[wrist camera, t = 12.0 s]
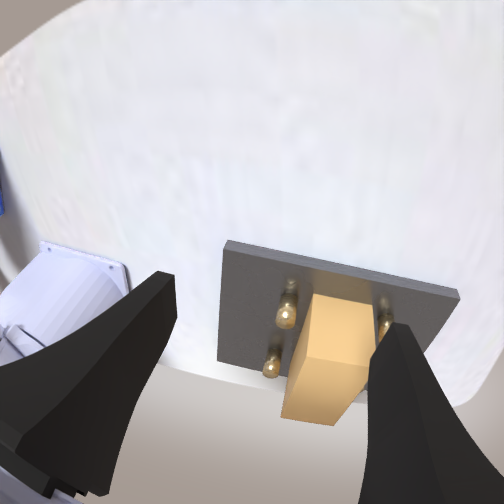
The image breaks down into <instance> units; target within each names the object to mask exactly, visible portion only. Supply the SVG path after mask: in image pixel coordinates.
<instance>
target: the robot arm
mask: <svg viewBox="0 0 504 504" xmlns="http://www.w3.org/2000/svg"><path fill="white" fill-rule="evenodd" d="M39 248H40V251H41V252H40V253H39V254H38V255H37V256H36V257H35V258H34V259H33V260H32V261H31V262H30V263H29V264H28V265H27V266H26V267H25V268H24V269H23V270H22V271H21V272H20V273H19V274H18V275H17V276H16V277H15V279H14V280H13V281H12V282H11V283H10V284H9V285H8V286H7V287H6V288H5V289H4V291H3V292H2V294H1V295H0V504H84V503H82V502H80V501H78V500H76V499H74V497H75V495H76V492H77V493H79V494H81V495H83V496H86V495H87V493H88V491H89V492H91V493H93V494H95V495H97V496H99V497H100V496H104V495H107V494H109V490H110V485H111V481H112V477H113V473H114V469H115V465H116V462H117V458H118V455H119V451H120V448H121V445H122V442H123V439H124V436H125V433H126V430H127V427H128V424H129V421H130V419H131V416H132V413H133V411H134V408H135V405H136V403H137V401H138V398H139V396H140V394H141V392H142V390H143V388H144V386H145V385H146V383H147V381H148V379H149V377H150V375H151V373H152V371H153V369H154V368H155V366H156V364H157V362H158V360H159V358H160V356H161V354H162V352H163V351H164V349H165V347H166V345H167V343H168V340H169V338H170V335H171V333H172V330H173V328H174V325H175V322H176V319H177V306H176V292H175V276H174V275H172V274H168V273H164V272H161V271H157V272H155V273H154V274H152V275H151V276H150V277H149V278H147V279H146V280H145V281H143V282H142V283H141V284H140V285H138V286H137V287H136V288H134V289H133V290H132V291H131V292H129V289H128V284H127V279H126V273H125V268H124V266H123V265H122V264H121V263H119V262H115V261H112V260H108V259H104V258H101V257H97V256H93V255H90V254H86V253H83V252H79V251H76V250H72V249H69V248H65V247H62V246H58V245H55V244H51V243H48V242H45V241H41V242H40V243H39ZM367 390H368V449H367V459H366V466H365V472H364V479H363V483H362V488H361V493H360V498H359V502H358V504H504V477H503V476H502V475H501V474H500V473H499V472H498V470H497V469H496V468H495V467H494V466H493V465H492V464H491V463H490V461H489V460H488V459H487V458H486V456H485V455H484V454H483V453H482V451H481V450H480V449H479V447H478V446H477V445H476V443H475V442H474V441H473V439H472V438H471V436H470V435H469V433H468V432H467V431H466V429H465V428H464V426H463V424H462V423H461V421H460V420H459V418H458V417H457V415H456V413H455V412H454V410H453V408H452V407H451V405H450V403H449V401H448V399H447V398H446V396H445V394H444V392H443V391H442V389H441V387H440V385H439V383H438V381H437V379H436V377H435V375H434V374H433V372H432V370H431V368H430V366H429V364H428V362H427V360H426V358H425V356H424V354H423V352H422V350H421V348H420V346H419V344H418V342H417V340H416V338H415V336H414V334H413V332H412V330H411V329H410V327H409V325H407V324H401V323H395V322H392V323H391V325H390V327H389V328H388V330H387V332H386V333H385V335H384V337H383V338H382V340H381V342H380V343H379V345H378V347H377V348H376V350H375V352H374V353H373V355H372V356H371V358H370V363H369V373H368V386H367Z"/></svg>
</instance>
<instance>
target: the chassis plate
mask: <svg viewBox="0 0 504 504" xmlns="http://www.w3.org/2000/svg"><path fill="white" fill-rule="evenodd" d="M313 294H318V295H323V296H328V297H333V298H338V299H343V300H348V301H353V302H358V303H363V304H368V305H372V308H373V319H374V332H375V348H377V347H378V345H379V343H380V342H381V340H382V338H383V337H384V335H385V333H386V332H387V330H388V328H389V327H390V325H391V323H392V322H395V323H401V324H407V325H409V327H410V329H411V330H412V332H413V334H414V336H415V338H416V340H417V342H418V344H419V346H420V348H421V350H422V352H423V353H424V352H425V351H426V349H427V348H428V347H429V345H430V344H431V342H432V341H433V340H434V338H435V337H436V335H437V334H438V333H439V331H440V330H441V328H442V327H443V325H444V324H445V322H446V321H447V319H448V318H449V316H450V315H451V313H452V312H453V310H454V309H455V307H456V306H457V304H458V302H459V301H460V296H459V294H458V291H457V289H453V288H448V287H444V286H439V285H435V284H430V283H426V282H421V281H417V280H412V279H407V278H403V277H398V276H394V275H389V274H385V273H380V272H375V271H371V270H366V269H362V268H357V267H352V266H348V265H343V264H339V263H334V262H329V261H325V260H320V259H315V258H311V257H306V256H301V255H297V254H292V253H287V252H283V251H278V250H273V249H269V248H264V247H259V246H254V245H250V244H245V243H240V242H235V241H231V240H227V242H226V244H225V246H224V249H223V262H222V277H221V293H220V310H219V329H218V349H217V361H219V362H223V363H227V364H231V365H235V366H240V367H244V368H248V369H252V370H257V371H261V372H263V375H264V376H265V377H267V378H276V377H278V375H280V376H285V377H288V373H289V367H290V363H291V360H292V357H293V354H294V351H295V348H296V346H297V343H298V340H299V337H300V334H301V331H302V328H303V325H304V322H305V319H306V315H307V312H308V309H309V306H310V303H311V300H312V297H313ZM367 386H368V381H367V382H366V384H365V385H364V387H363V388H362V389H361V391H360V392H362V391H363V390H367ZM360 392H359V393H360Z"/></svg>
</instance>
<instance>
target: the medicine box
mask: <svg viewBox="0 0 504 504" xmlns="http://www.w3.org/2000/svg"><path fill="white" fill-rule="evenodd" d="M3 214H4V205H3V199H2V193H1V186H0V217H1V216H2V215H3Z"/></svg>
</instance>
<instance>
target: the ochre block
mask: <svg viewBox="0 0 504 504" xmlns="http://www.w3.org/2000/svg"><path fill="white" fill-rule="evenodd" d="M375 350H376V348H375V332H374V319H373V308H372V305H368V304H363V303H358V302H353V301H348V300H343V299H338V298H333V297H328V296H323V295H318V294H313V297H312V300H311V303H310V306H309V309H308V312H307V315H306V319H305V322H304V325H303V328H302V331H301V334H300V337H299V340H298V343H297V346H296V348H295V351H294V354H293V357H292V360H291V363H290V367H289V373H288V379H287V385H286V390H285V396H284V401H283V407H282V412H281V418H286V419H292V420H297V421H304V422H309V423H316V424H323V425H330V426H334V425H335V423H336V422H337V421H338V420H339V418H340V417H341V416H342V415H343V413H344V412H345V411H346V409H347V408H348V407H349V406H350V404H351V403H352V402H353V400H354V399H355V398H356V396H357V395H358V393H359V392H360V391H361V389H362V388H363V387H364V385H365V384H366V382H367V381H368V373H369V363H370V358H371V356H372V355H373V353H374V352H375Z"/></svg>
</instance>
